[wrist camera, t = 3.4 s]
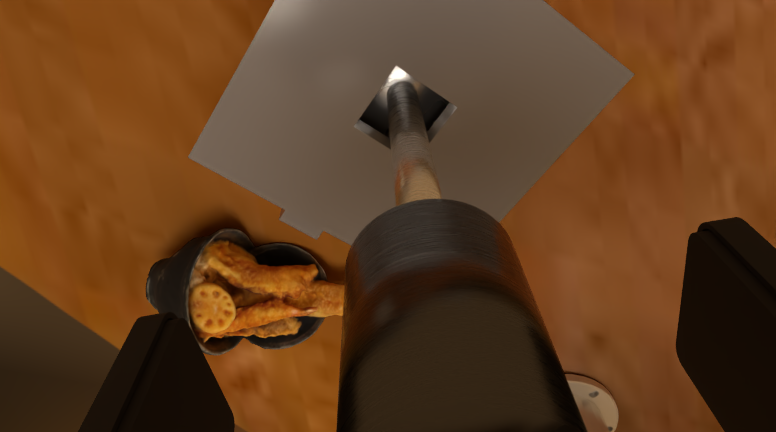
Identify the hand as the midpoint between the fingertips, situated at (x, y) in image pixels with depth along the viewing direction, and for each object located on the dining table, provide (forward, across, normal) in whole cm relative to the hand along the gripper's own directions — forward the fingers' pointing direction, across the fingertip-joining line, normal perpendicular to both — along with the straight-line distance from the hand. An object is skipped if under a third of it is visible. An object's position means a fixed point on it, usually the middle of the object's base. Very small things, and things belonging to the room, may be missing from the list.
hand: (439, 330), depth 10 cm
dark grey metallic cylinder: (+14, 0, 0) cm, 14 cm away
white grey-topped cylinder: (+28, +1, +1) cm, 28 cm away
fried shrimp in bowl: (+28, +11, +17) cm, 35 cm away
